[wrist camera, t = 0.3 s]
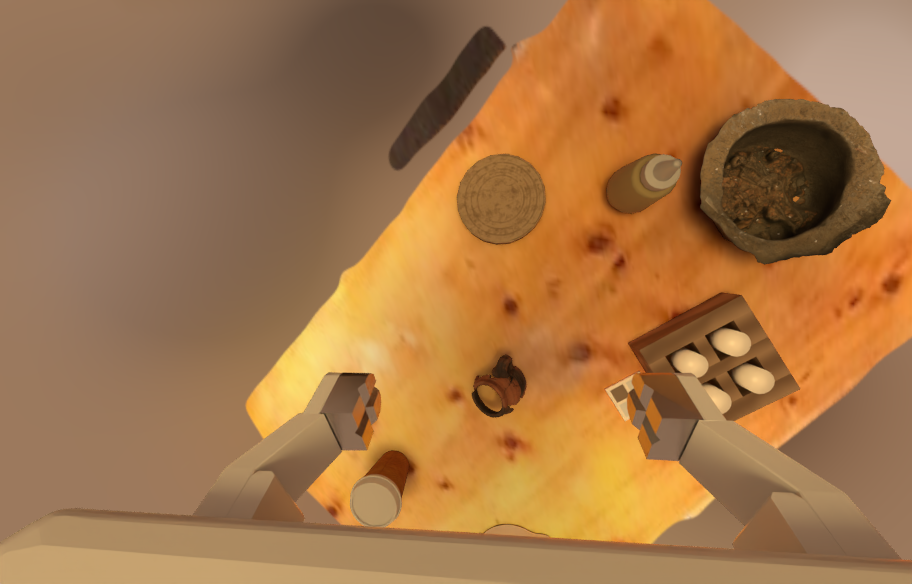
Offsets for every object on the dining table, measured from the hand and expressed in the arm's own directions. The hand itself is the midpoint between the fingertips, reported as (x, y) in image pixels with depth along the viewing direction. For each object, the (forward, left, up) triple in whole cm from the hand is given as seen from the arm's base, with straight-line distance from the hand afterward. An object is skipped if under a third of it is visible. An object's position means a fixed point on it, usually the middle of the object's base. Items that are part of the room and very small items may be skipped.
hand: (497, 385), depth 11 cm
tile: (-31, -10, -53) cm, 62 cm away
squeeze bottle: (+2, -27, -54) cm, 60 cm away
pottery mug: (-16, +10, -54) cm, 57 cm away
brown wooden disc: (+13, -8, -54) cm, 56 cm away
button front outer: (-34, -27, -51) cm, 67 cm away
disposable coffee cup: (-21, +39, -54) cm, 69 cm away
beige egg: (-27, -27, -51) cm, 64 cm away
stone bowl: (-9, -45, -54) cm, 71 cm away
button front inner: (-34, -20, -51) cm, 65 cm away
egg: (-27, -20, -51) cm, 61 cm away
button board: (-31, -23, -53) cm, 66 cm away
